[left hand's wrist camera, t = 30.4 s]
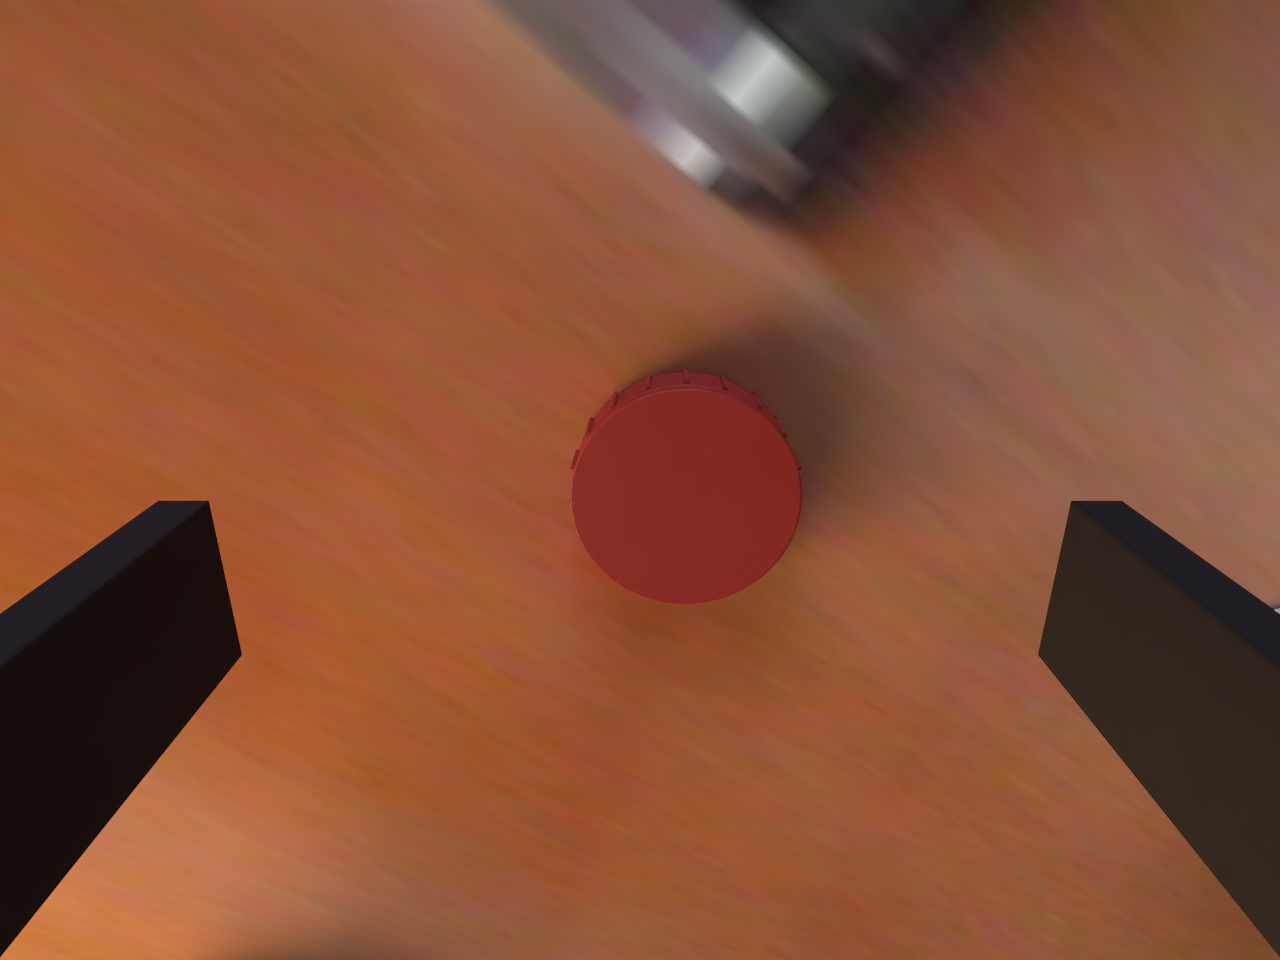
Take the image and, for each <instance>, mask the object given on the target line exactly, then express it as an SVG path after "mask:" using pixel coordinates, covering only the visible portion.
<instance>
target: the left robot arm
mask: <svg viewBox="0 0 1280 960" xmlns="http://www.w3.org/2000/svg"><path fill="white" fill-rule="evenodd" d="M241 655H242V653H241V648H240V644H239V639H238V635H237V630H236V625H235V621H234V616H233V611H232V607H231V602H230V598H229V593H228V588H227V584H226V579H225V575H224V570H223V565H222V561H221V556H220V551H219V547H218V542H217V538H216V533H215V528H214V524H213V519H212V514H211V510H210V505H209V501H158V502H156V503H155V504H153V505H152V506H151V507H149V508H148V509H146V510H145V511H144V512H142V513H141V514H139V515H138V516H137V517H135V518H134V519H132V520H131V521H130V522H128V523H127V524H125V525H124V526H123V527H121V528H120V529H118V530H117V531H116V532H114V533H113V534H111V535H110V536H109V537H107V538H106V539H104V540H103V541H102V542H100V543H99V544H97V545H96V546H95V547H93V548H92V549H90V550H89V551H88V552H86V553H85V554H83V555H82V556H81V557H79V558H78V559H76V560H75V561H74V562H72V563H71V564H69V565H68V566H67V567H65V568H64V569H62V570H61V571H60V572H58V573H57V574H55V575H54V576H53V577H51V578H50V579H48V580H47V581H46V582H44V583H43V584H41V585H40V586H39V587H37V588H36V589H34V590H33V591H32V592H30V593H29V594H27V595H26V596H25V597H23V598H22V599H20V600H19V601H18V602H16V603H15V604H13V605H12V606H11V607H9V608H8V609H6V610H5V611H4V612H2V613H1V614H0V957H1V955H2V954H3V953H4V952H5V950H6V949H7V948H8V947H9V945H10V944H11V943H12V942H13V940H14V939H15V938H16V937H17V935H18V934H19V933H20V932H21V930H22V929H23V928H24V927H25V925H26V924H27V923H28V922H29V920H30V919H31V918H32V917H33V915H34V914H35V913H36V912H37V910H38V909H39V908H40V907H41V905H42V904H43V903H44V902H45V900H46V899H47V898H48V897H49V895H50V894H51V893H52V892H53V890H54V889H55V888H56V887H57V885H58V884H59V883H60V882H61V880H62V879H63V878H64V877H65V875H66V874H67V873H68V872H69V870H70V869H71V868H72V867H73V865H74V864H75V863H76V862H77V860H78V859H79V858H80V857H81V855H82V854H83V853H84V852H85V850H86V849H87V848H88V847H89V845H90V844H91V843H92V842H93V840H94V839H95V838H96V837H97V835H98V834H99V833H100V832H101V830H102V829H103V828H104V827H105V825H106V824H107V823H108V822H109V820H110V819H111V818H112V817H113V815H114V814H115V813H116V812H117V810H118V809H119V808H120V807H121V805H122V804H123V803H124V802H125V800H126V799H127V798H128V797H129V795H130V794H131V793H132V792H133V790H134V789H135V788H136V787H137V785H138V784H139V783H140V782H141V780H142V779H143V778H144V777H145V775H146V774H147V773H148V772H149V770H150V769H151V768H152V767H153V765H154V764H155V763H156V762H157V760H158V759H159V758H160V757H161V755H162V754H163V753H164V752H165V750H166V749H167V748H168V747H169V745H170V744H171V743H172V742H173V740H174V739H175V738H176V737H177V735H178V734H179V733H180V732H181V730H182V729H183V728H184V727H185V725H186V724H187V723H188V721H189V720H190V719H191V718H192V716H193V715H194V714H195V713H196V711H197V710H198V709H199V708H200V706H201V705H202V704H203V703H204V701H205V700H206V699H207V698H208V696H209V695H210V694H211V693H212V691H213V690H214V689H215V688H216V686H217V685H218V684H219V683H220V681H221V680H222V679H223V678H224V676H225V675H226V674H227V673H228V671H229V670H230V669H231V668H232V666H233V665H234V664H235V663H236V661H237V660H238V659H239V658H240V656H241ZM1038 655H1039V656H1040V658H1041V659H1042V660H1043V661H1044V663H1045V664H1046V665H1047V666H1048V668H1049V669H1050V670H1051V671H1052V673H1053V674H1054V675H1055V676H1056V678H1057V679H1058V680H1059V681H1060V683H1061V684H1062V685H1063V686H1064V688H1065V689H1066V690H1067V691H1068V693H1069V694H1070V695H1071V696H1072V698H1073V699H1074V700H1075V701H1076V703H1077V704H1078V705H1079V706H1080V708H1081V709H1082V710H1083V711H1084V713H1085V714H1086V715H1087V716H1088V718H1089V719H1090V720H1091V722H1092V723H1093V724H1094V725H1095V727H1096V728H1097V729H1098V730H1099V732H1100V733H1101V734H1102V735H1103V737H1104V738H1105V739H1106V740H1107V742H1108V743H1109V744H1110V745H1111V747H1112V748H1113V749H1114V750H1115V752H1116V753H1117V754H1118V755H1119V757H1120V758H1121V759H1122V760H1123V762H1124V763H1125V764H1126V765H1127V767H1128V768H1129V769H1130V770H1131V772H1132V773H1133V774H1134V775H1135V777H1136V778H1137V779H1138V780H1139V782H1140V783H1141V784H1142V785H1143V787H1144V788H1145V789H1146V790H1147V792H1148V793H1149V794H1150V795H1151V797H1152V798H1153V799H1154V800H1155V802H1156V803H1157V804H1158V805H1159V807H1160V808H1161V809H1162V810H1163V812H1164V813H1165V814H1166V815H1167V817H1168V818H1169V819H1170V820H1171V822H1172V823H1173V824H1174V825H1175V827H1176V828H1177V829H1178V830H1179V832H1180V833H1181V834H1182V835H1183V837H1184V838H1185V839H1186V840H1187V842H1188V843H1189V844H1190V845H1191V847H1192V848H1193V849H1194V850H1195V852H1196V853H1197V854H1198V855H1199V857H1200V858H1201V859H1202V860H1203V862H1204V863H1205V864H1206V865H1207V867H1208V868H1209V869H1210V870H1211V872H1212V873H1213V874H1214V875H1215V877H1216V878H1217V879H1218V880H1219V882H1220V883H1221V884H1222V885H1223V887H1224V888H1225V889H1226V890H1227V892H1228V893H1229V894H1230V895H1231V897H1232V898H1233V899H1234V900H1235V902H1236V903H1237V904H1238V905H1239V907H1240V908H1241V909H1242V910H1243V912H1244V913H1245V914H1246V915H1247V917H1248V918H1249V919H1250V920H1251V922H1252V923H1253V924H1254V925H1255V927H1256V928H1257V929H1258V930H1259V932H1260V933H1261V934H1262V935H1263V937H1264V938H1265V939H1266V940H1267V942H1268V943H1269V944H1270V945H1271V947H1272V948H1273V949H1274V950H1275V952H1276V953H1277V954H1278V955H1279V957H1280V614H1279V613H1278V612H1276V611H1275V610H1274V609H1272V608H1271V607H1269V606H1268V605H1267V604H1265V603H1264V602H1262V601H1261V600H1260V599H1258V598H1257V597H1255V596H1254V595H1253V594H1251V593H1250V592H1248V591H1247V590H1246V589H1244V588H1243V587H1241V586H1240V585H1239V584H1237V583H1236V582H1234V581H1233V580H1232V579H1230V578H1229V577H1227V576H1226V575H1225V574H1223V573H1222V572H1220V571H1219V570H1218V569H1216V568H1215V567H1213V566H1212V565H1211V564H1209V563H1208V562H1206V561H1205V560H1204V559H1202V558H1201V557H1199V556H1198V555H1197V554H1195V553H1194V552H1192V551H1191V550H1190V549H1188V548H1187V547H1185V546H1184V545H1183V544H1181V543H1180V542H1178V541H1177V540H1176V539H1174V538H1173V537H1171V536H1170V535H1169V534H1167V533H1166V532H1164V531H1163V530H1162V529H1160V528H1159V527H1157V526H1156V525H1155V524H1153V523H1152V522H1150V521H1149V520H1148V519H1146V518H1145V517H1143V516H1142V515H1141V514H1139V513H1138V512H1136V511H1135V510H1134V509H1132V508H1131V507H1129V506H1128V505H1127V504H1125V503H1124V502H1122V501H1071V505H1070V510H1069V514H1068V519H1067V524H1066V528H1065V533H1064V538H1063V542H1062V547H1061V551H1060V556H1059V561H1058V565H1057V570H1056V575H1055V579H1054V584H1053V588H1052V593H1051V598H1050V602H1049V607H1048V611H1047V616H1046V621H1045V625H1044V630H1043V635H1042V639H1041V644H1040V648H1039V653H1038Z"/></svg>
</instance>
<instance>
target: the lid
mask: <svg viewBox="0 0 1280 960" xmlns="http://www.w3.org/2000/svg"><path fill="white" fill-rule="evenodd" d="M787 436H788V435H787V433H786V431H785V429H784V427H783V424H782V422H781V421H780V419H779V418H778V419H775V418H774V416H773V415H772V414H771V413H770V411H769V410H768V409H767V407H766V406H765V405H763V404H762V403H761V401H760V399H759V397H758V394H757V393H755V392H753V393H752V394H751V393H750V392H748V391H747V390H746V389H744V388H742V387H740V386H738V385H737V384H735V383H733V382H730V381H728V380H726V377H725V375H722V374H721V375H720V377H717V376H713V375H709V374H704V373H695V372H688V369H683V372H674V373H667V374H661V375H657V376H654V377H651V375H650V374H649V375H646V378H645V380H642V381H640V382H637V383H635V384H633V385H631V386H630V387H628V388H626V389H625V390H623V391H621V392H620V393H618V392H617V391H616V392H615V393H613V396H612V399H611V400H610V401H609V402H608V403H607V404H606V405H605V406H604V407H603V408H602V409H601V410H600V412H599V413H598V414H597V416H596V417H595V418H594V419H593V418H592V417H591V418H590V420H589V422H588V425H587V428H586V432H585V437H584V439H583V442H582V445H581V448H580V450H578V449H577V450H576V452H575V456H574V459H573V462H572V465H571V469H573V470H574V471H573V476H572V480H571V489H570V499H569V504H570V505H571V513H572V518H573V523H574V526H575V529H576V532H577V535H578V537H579V539H580V541H581V543H582V545H583V547H584V549H585V550H586V552H587V553H588V555H589V556H590V558H591V559H592V560H593V562H594V563H595V564H596V565H597V566H598V567H599V568H600V569H601V570H602V571H603V572H604V573H605V574H606V575H607V576H609V577H610V578H611V579H612V580H613V581H615V582H616V583H618V584H619V585H621V586H622V587H624V588H626V589H628V590H630V591H632V592H634V593H636V594H638V595H641V596H644V597H647V598H649V599H653V600H658V601H662V602H669V603H678V604H690V603H701V602H708V601H712V600H716V599H720V598H723V597H726V596H729V595H731V594H734V593H736V592H738V591H740V590H742V589H744V588H746V587H748V586H749V585H751V584H752V583H754V582H755V581H757V580H758V579H760V578H761V577H762V576H763V575H764V574H765V573H766V572H768V571H769V570H770V569H771V568H772V567H773V565H774V564H775V563H776V562H777V561H778V560H779V559H780V557H781V556H782V554H783V553H784V551H785V550H786V548H787V547H788V545H789V543H790V541H791V539H792V537H793V535H794V532H795V529H796V527H797V524H798V520H799V515H800V510H801V499H802V490H801V479H800V475H799V471H800V470H801V468H800V465H799V463H798V461H797V459H796V457H795V455H794V452H793V450H791V449H790V446H789V444H788V442H787V440H786V438H785V437H787Z"/></svg>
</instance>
